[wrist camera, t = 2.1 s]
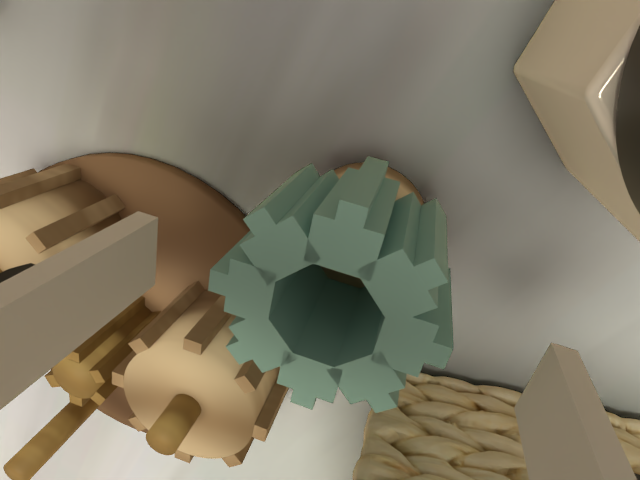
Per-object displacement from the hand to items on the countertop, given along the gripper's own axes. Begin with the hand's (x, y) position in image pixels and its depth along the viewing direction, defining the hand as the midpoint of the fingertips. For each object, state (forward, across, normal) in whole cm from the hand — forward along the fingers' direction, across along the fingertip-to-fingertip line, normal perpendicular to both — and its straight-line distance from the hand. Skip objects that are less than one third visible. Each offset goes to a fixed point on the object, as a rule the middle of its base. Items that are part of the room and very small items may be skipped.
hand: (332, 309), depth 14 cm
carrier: (+7, -11, -9) cm, 16 cm away
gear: (+4, 0, 0) cm, 4 cm away
